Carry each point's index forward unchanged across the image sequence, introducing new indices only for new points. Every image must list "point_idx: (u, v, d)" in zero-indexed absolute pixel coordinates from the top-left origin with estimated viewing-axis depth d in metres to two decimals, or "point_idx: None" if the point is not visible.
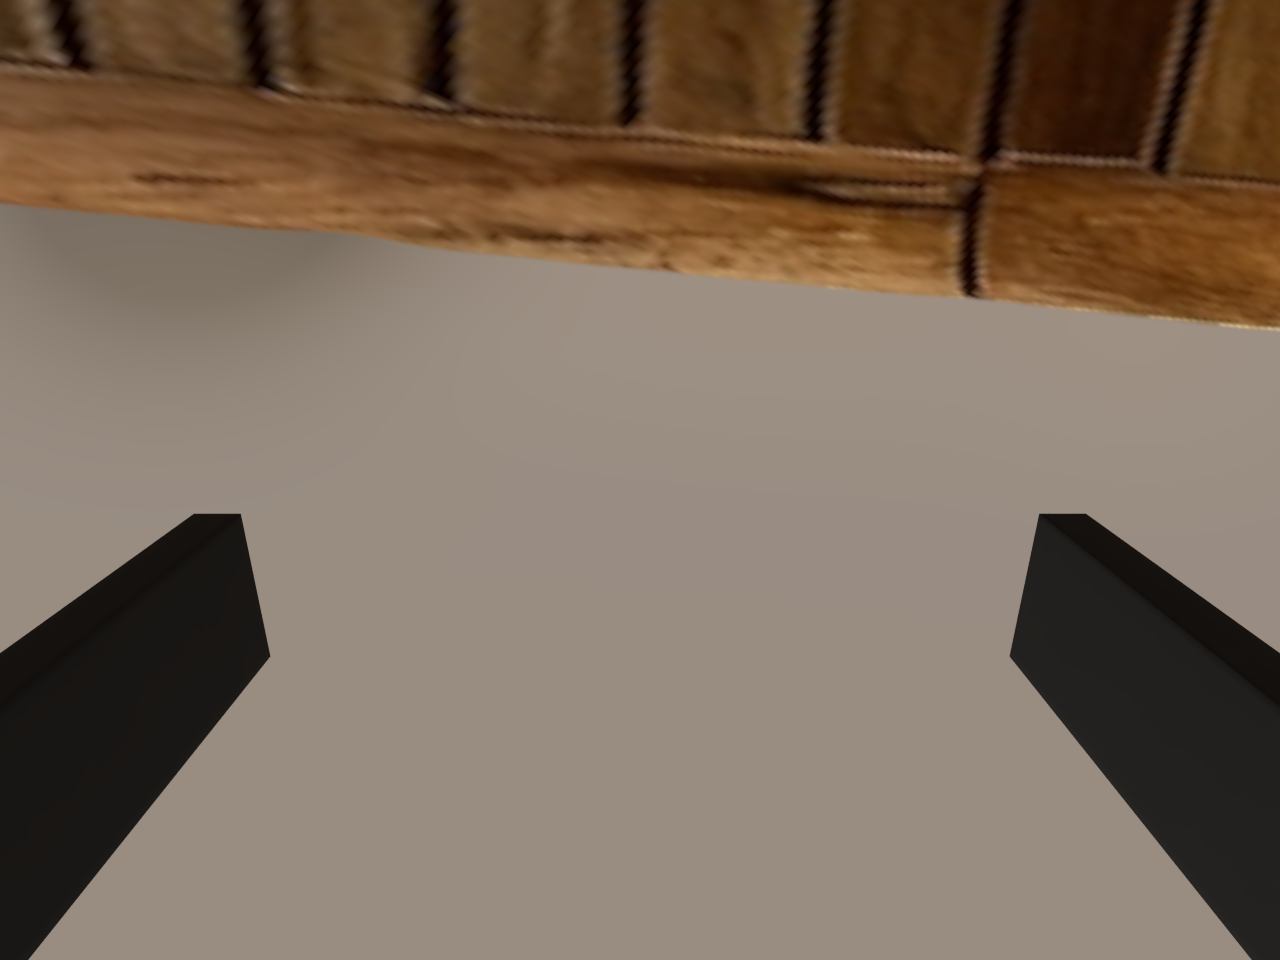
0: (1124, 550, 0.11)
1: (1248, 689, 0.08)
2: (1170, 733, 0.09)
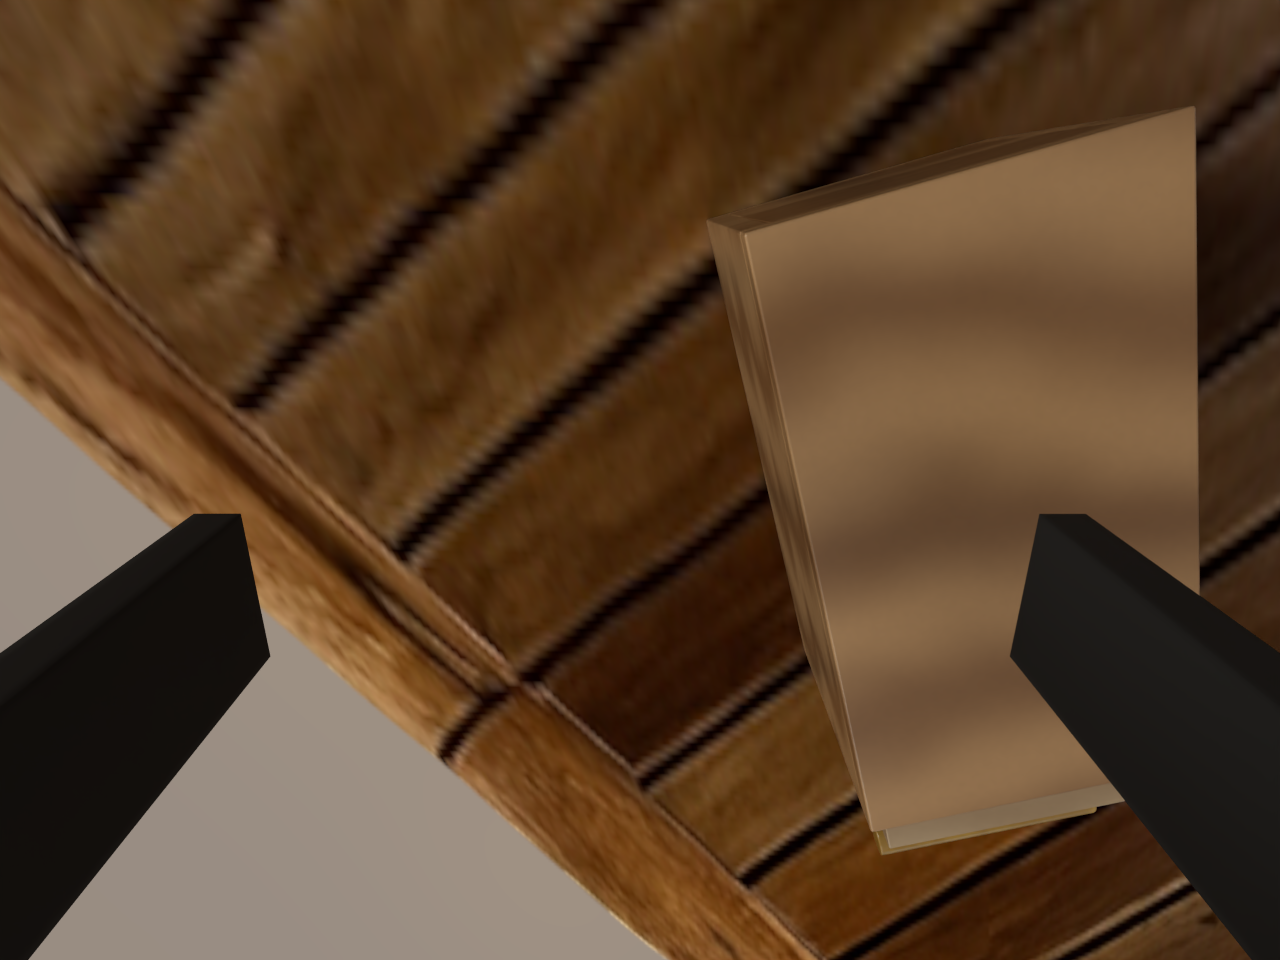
0: (1124, 550, 0.11)
1: (1248, 689, 0.08)
2: (1169, 733, 0.09)
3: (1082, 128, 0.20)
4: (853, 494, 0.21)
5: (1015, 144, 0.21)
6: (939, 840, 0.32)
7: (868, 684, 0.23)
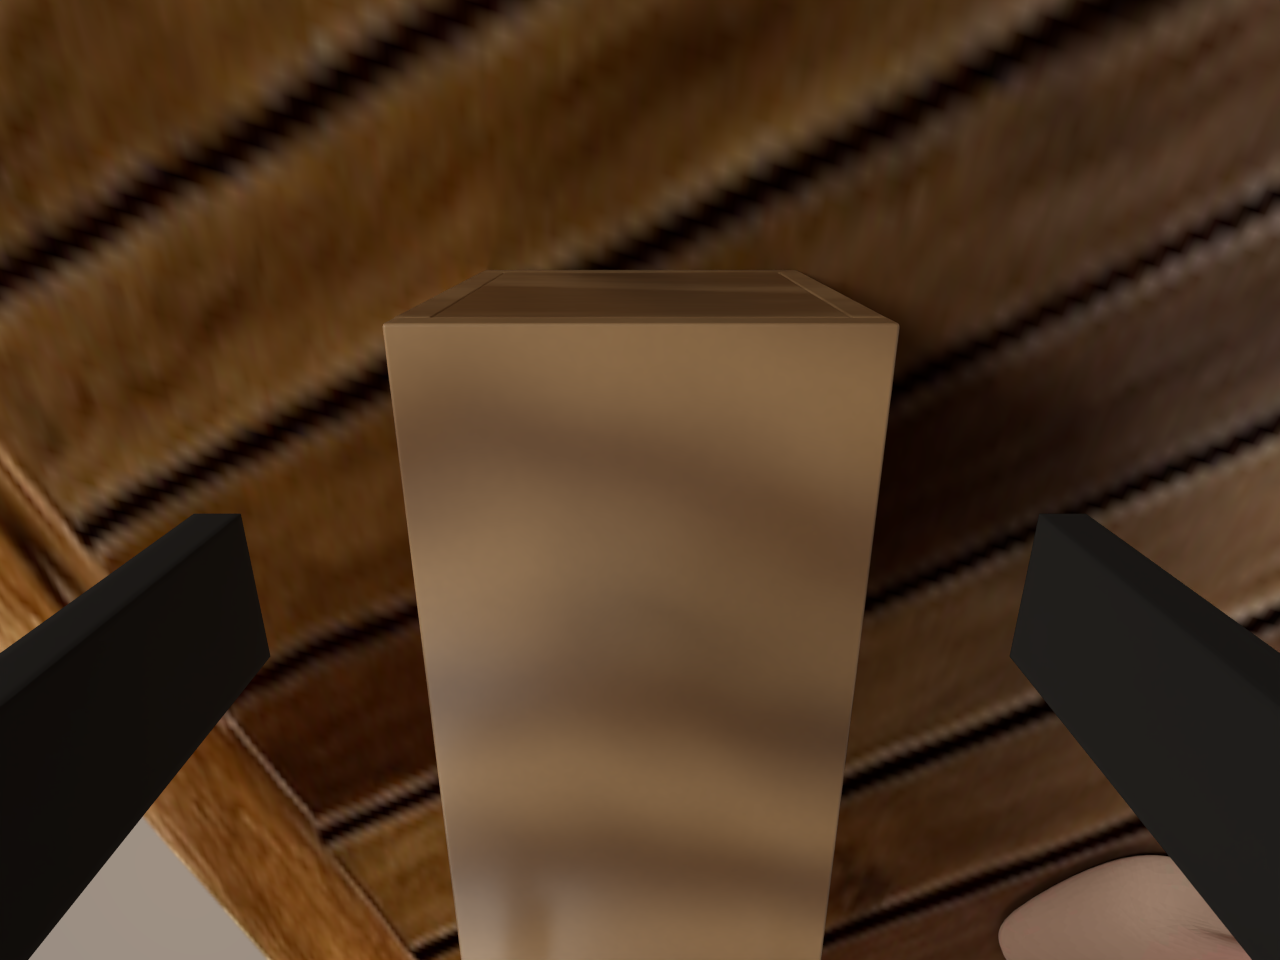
0: (1124, 550, 0.11)
1: (1248, 689, 0.08)
2: (1170, 733, 0.09)
3: (817, 304, 0.18)
4: (479, 635, 0.18)
5: (759, 297, 0.19)
6: None
7: (475, 834, 0.20)
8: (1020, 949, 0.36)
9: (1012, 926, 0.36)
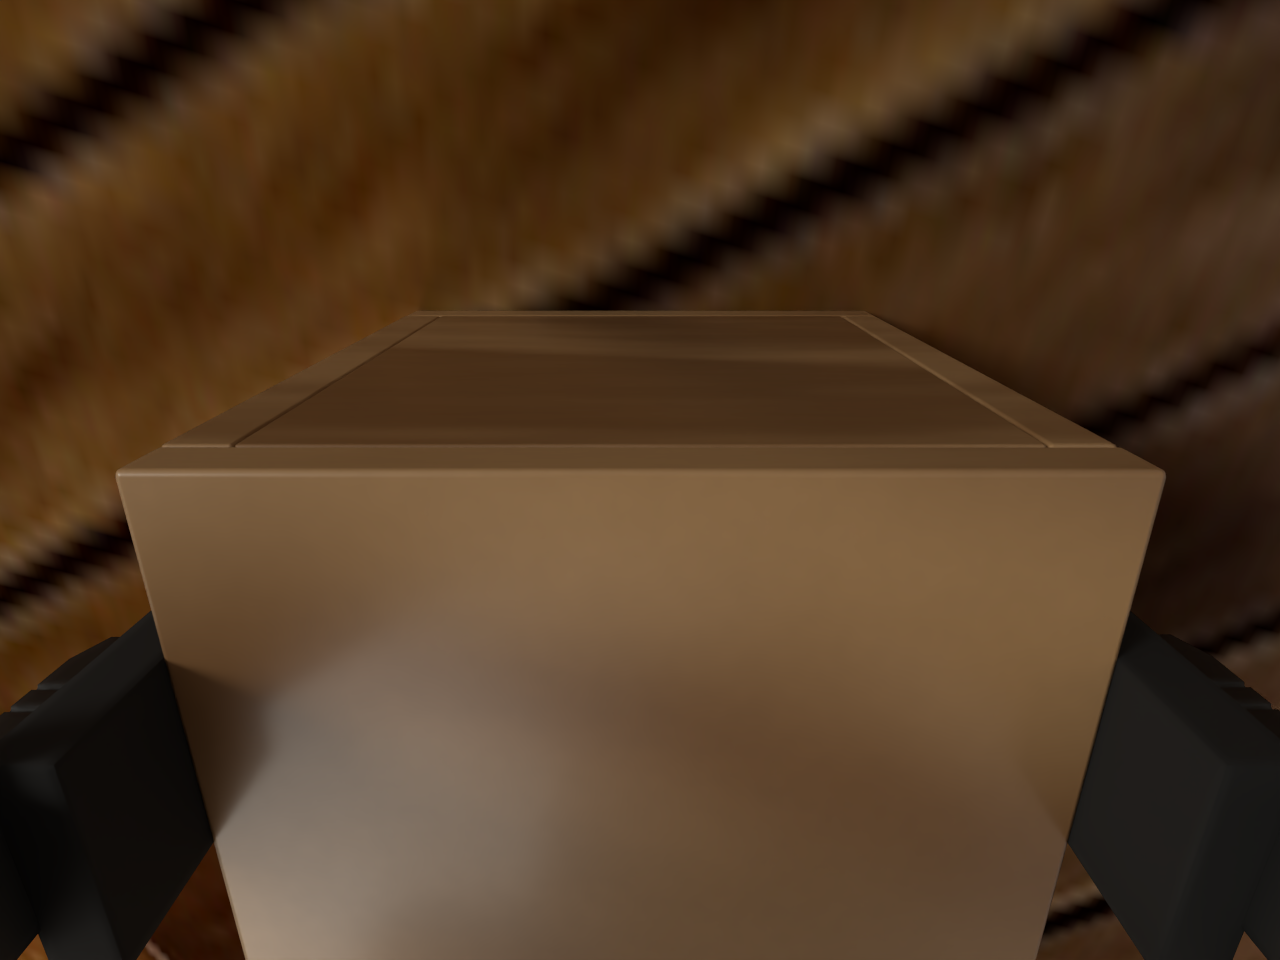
0: None
1: None
2: None
3: (954, 401, 0.10)
4: None
5: (841, 380, 0.11)
6: None
7: None
8: None
9: None
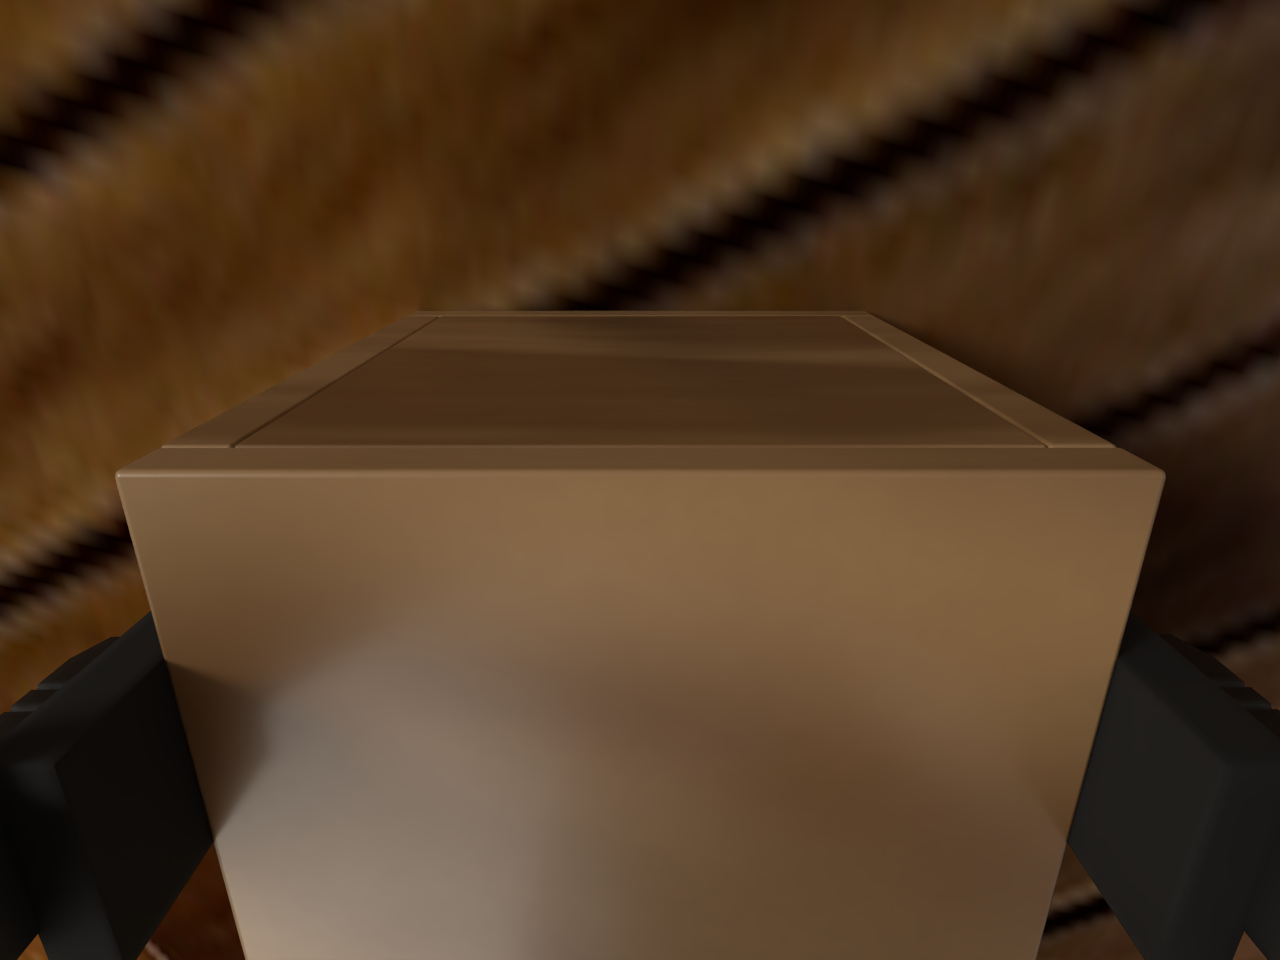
0: None
1: None
2: None
3: (954, 401, 0.10)
4: None
5: (841, 380, 0.11)
6: None
7: None
8: None
9: None
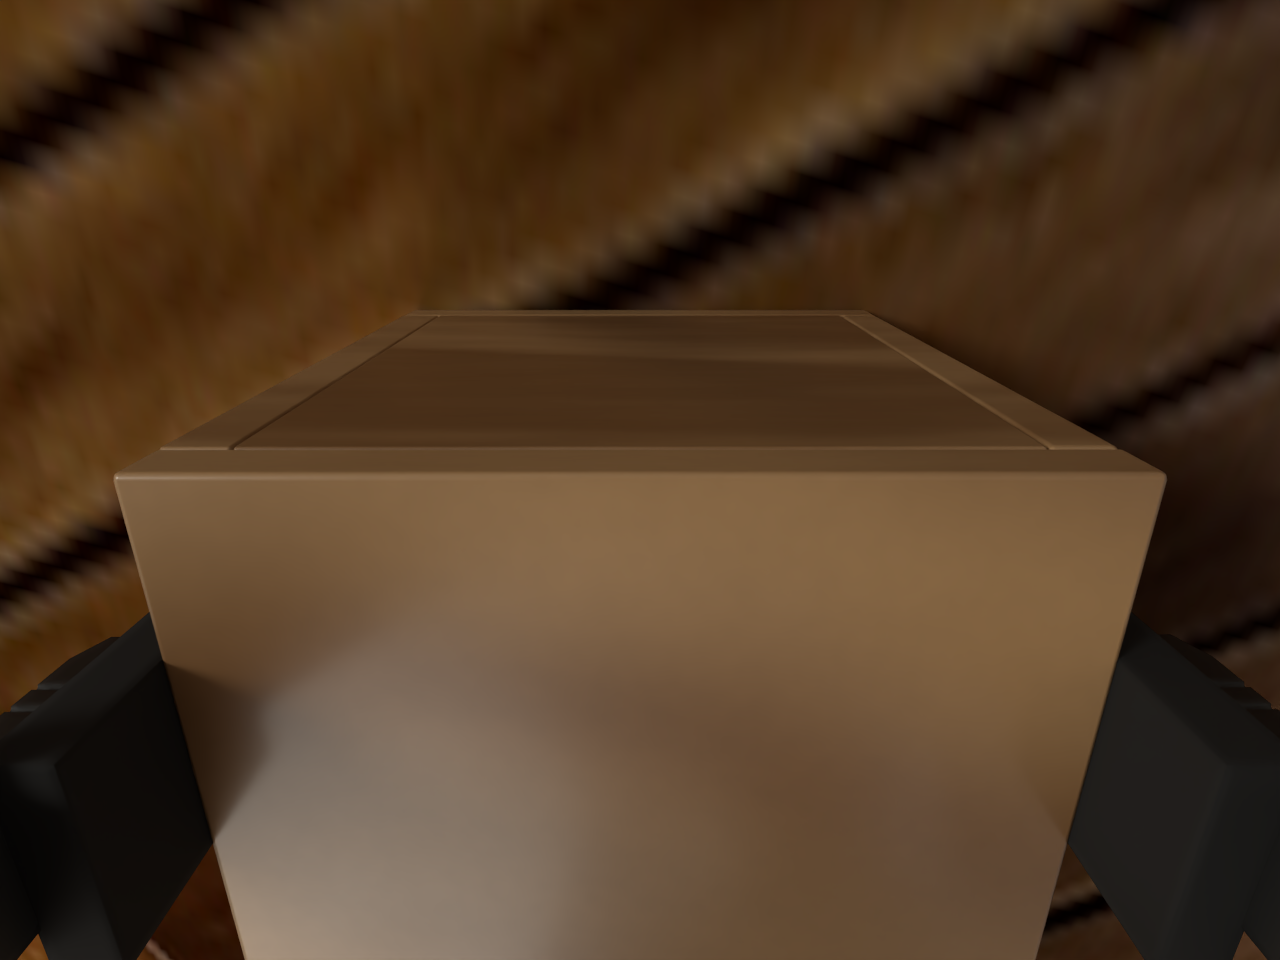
0: None
1: None
2: None
3: (954, 402, 0.10)
4: None
5: (841, 381, 0.11)
6: None
7: None
8: None
9: None
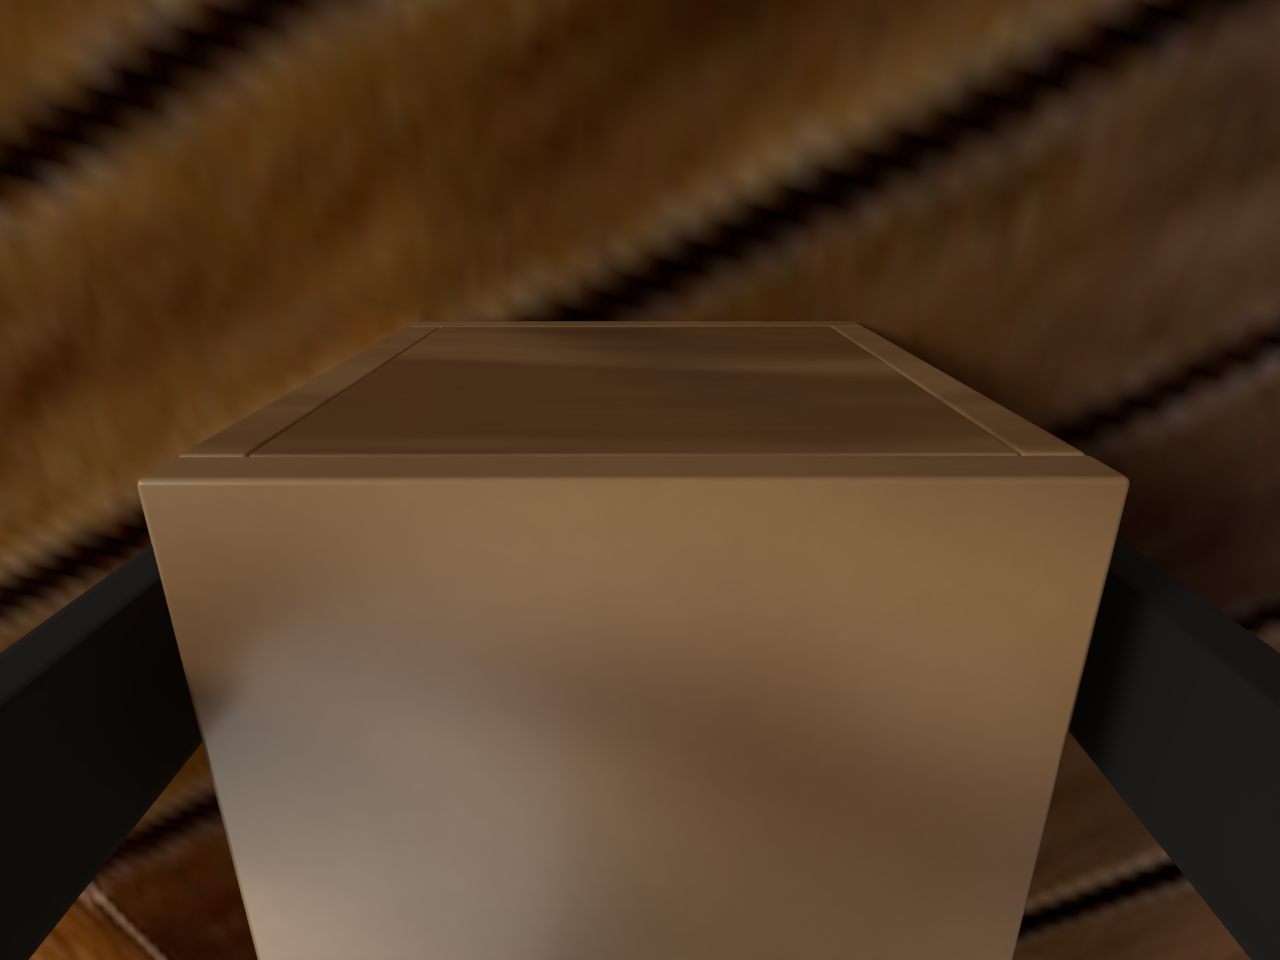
0: (1124, 550, 0.11)
1: (1248, 689, 0.08)
2: (1169, 733, 0.09)
3: (934, 411, 0.10)
4: None
5: (828, 391, 0.12)
6: None
7: None
8: None
9: None
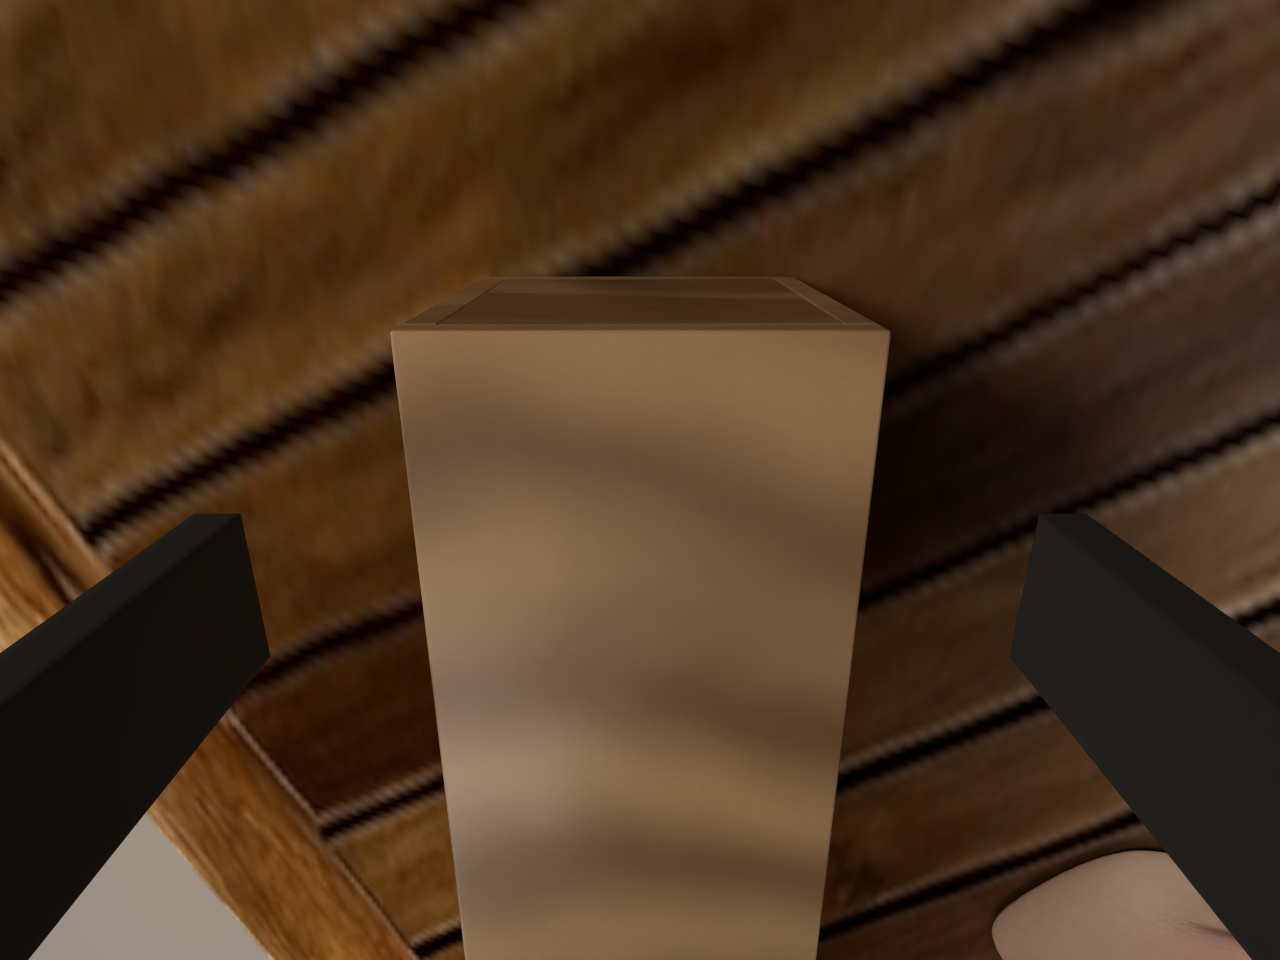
0: (1124, 550, 0.11)
1: (1249, 689, 0.08)
2: (1170, 733, 0.09)
3: (811, 311, 0.18)
4: (483, 634, 0.18)
5: (755, 304, 0.19)
6: None
7: (479, 829, 0.21)
8: (1013, 944, 0.36)
9: (1005, 921, 0.36)
